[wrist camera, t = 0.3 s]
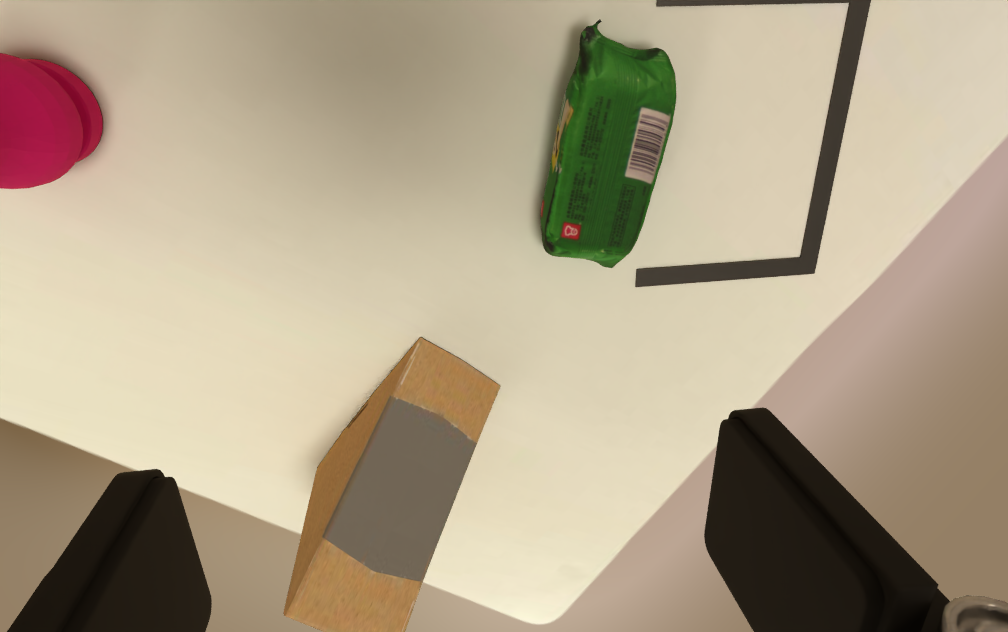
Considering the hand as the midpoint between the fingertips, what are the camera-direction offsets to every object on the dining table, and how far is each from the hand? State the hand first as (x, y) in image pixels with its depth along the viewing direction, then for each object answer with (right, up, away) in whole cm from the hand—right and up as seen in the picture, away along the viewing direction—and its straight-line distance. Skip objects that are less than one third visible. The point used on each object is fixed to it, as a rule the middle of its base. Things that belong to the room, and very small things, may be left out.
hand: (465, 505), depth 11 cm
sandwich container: (-7, -6, +41) cm, 42 cm away
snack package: (+7, +15, +33) cm, 37 cm away
